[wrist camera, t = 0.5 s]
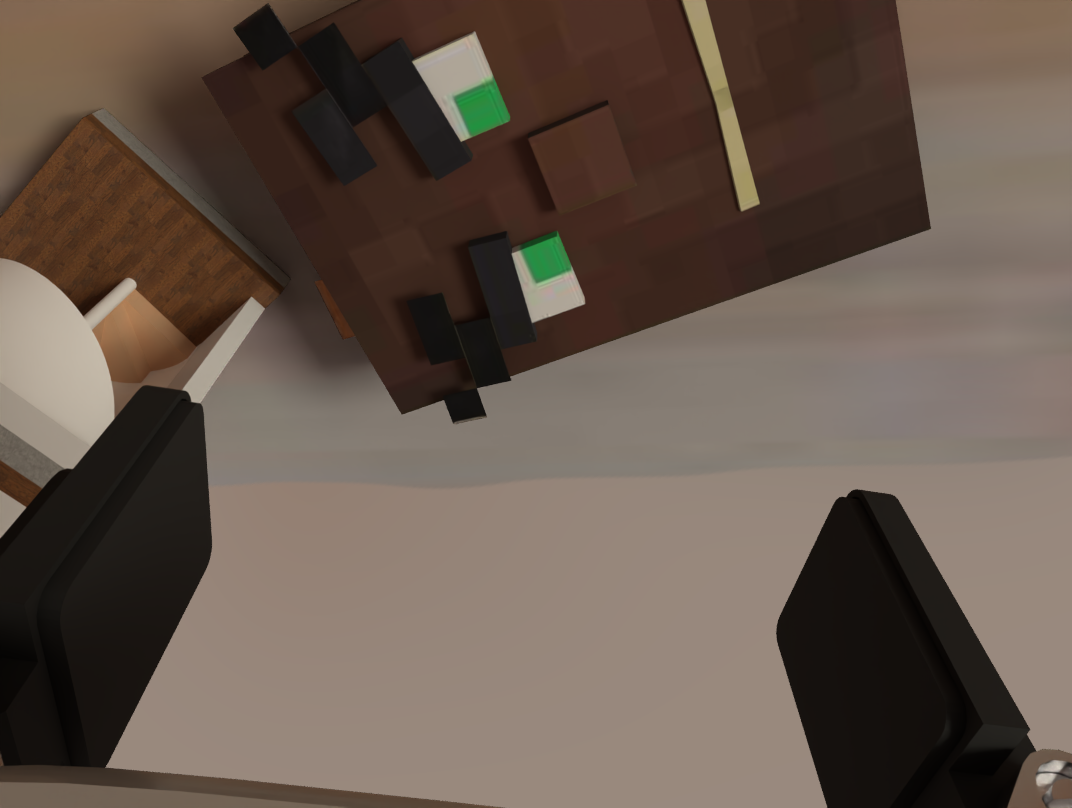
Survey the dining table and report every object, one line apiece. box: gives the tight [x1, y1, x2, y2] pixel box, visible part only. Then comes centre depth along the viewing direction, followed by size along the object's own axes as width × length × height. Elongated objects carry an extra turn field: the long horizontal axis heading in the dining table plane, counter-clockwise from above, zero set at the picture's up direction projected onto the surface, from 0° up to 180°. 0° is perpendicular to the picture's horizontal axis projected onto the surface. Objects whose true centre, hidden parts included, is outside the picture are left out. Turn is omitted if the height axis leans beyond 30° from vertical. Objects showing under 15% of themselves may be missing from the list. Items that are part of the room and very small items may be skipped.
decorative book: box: [202, 0, 931, 424], centre depth 35 cm, size 19×8×30 cm
